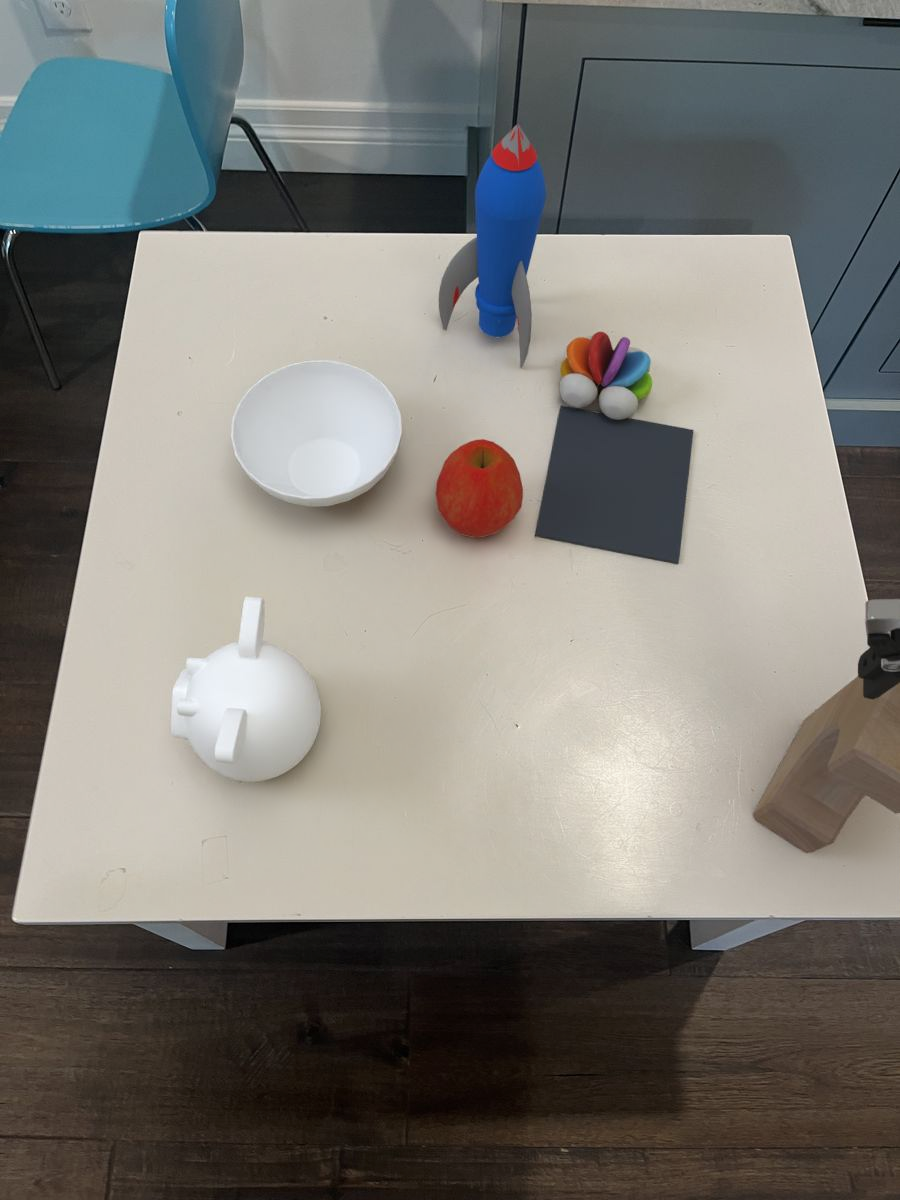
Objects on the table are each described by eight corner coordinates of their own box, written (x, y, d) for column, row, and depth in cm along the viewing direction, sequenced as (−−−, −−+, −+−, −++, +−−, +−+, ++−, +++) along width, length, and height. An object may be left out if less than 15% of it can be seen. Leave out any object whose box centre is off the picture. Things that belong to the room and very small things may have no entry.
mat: (692, 432, 91) (693, 429, 91) (677, 564, 84) (679, 562, 84) (560, 407, 92) (560, 405, 92) (534, 536, 85) (535, 534, 85)
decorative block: (808, 857, 73) (934, 802, 55) (747, 816, 74) (850, 749, 56) (864, 753, 77) (999, 670, 59) (806, 715, 78) (919, 623, 60)
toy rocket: (526, 373, 94) (558, 169, 72) (437, 371, 94) (441, 165, 71) (523, 298, 99) (553, 84, 76) (438, 295, 99) (442, 80, 76)
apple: (534, 528, 86) (548, 465, 76) (463, 566, 84) (468, 507, 74) (488, 468, 89) (496, 400, 79) (419, 504, 87) (418, 439, 77)
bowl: (212, 460, 88) (196, 417, 82) (338, 380, 93) (332, 333, 87) (308, 567, 83) (299, 530, 77) (436, 477, 88) (437, 435, 82)
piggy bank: (184, 684, 78) (133, 613, 64) (315, 657, 79) (292, 582, 66) (199, 821, 73) (147, 775, 59) (338, 790, 74) (319, 739, 61)
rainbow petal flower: (570, 350, 96) (581, 298, 89) (656, 376, 94) (673, 325, 88) (546, 405, 92) (556, 355, 85) (635, 433, 90) (652, 384, 84)
